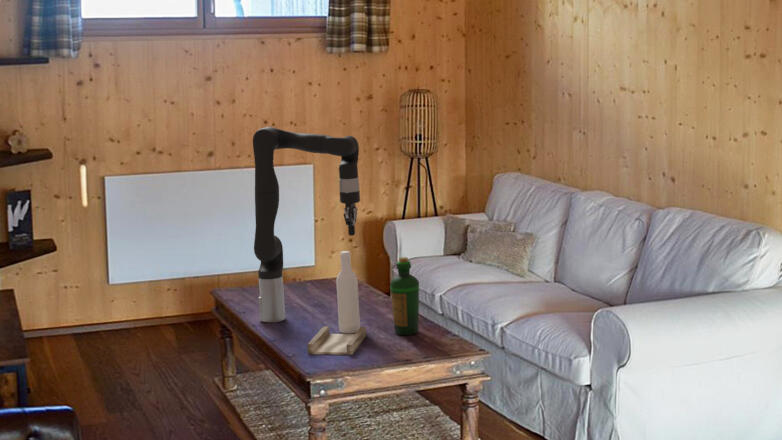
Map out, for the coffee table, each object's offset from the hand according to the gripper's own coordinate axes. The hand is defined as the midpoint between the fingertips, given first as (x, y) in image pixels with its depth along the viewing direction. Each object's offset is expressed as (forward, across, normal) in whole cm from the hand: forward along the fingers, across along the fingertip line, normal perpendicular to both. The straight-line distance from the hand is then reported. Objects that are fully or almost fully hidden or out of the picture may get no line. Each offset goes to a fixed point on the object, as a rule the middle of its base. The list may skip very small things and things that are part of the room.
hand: (351, 235), depth 409 cm
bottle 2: (+34, +14, +22) cm, 43 cm away
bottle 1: (+34, +12, 0) cm, 36 cm away
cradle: (+34, +30, 0) cm, 45 cm away
